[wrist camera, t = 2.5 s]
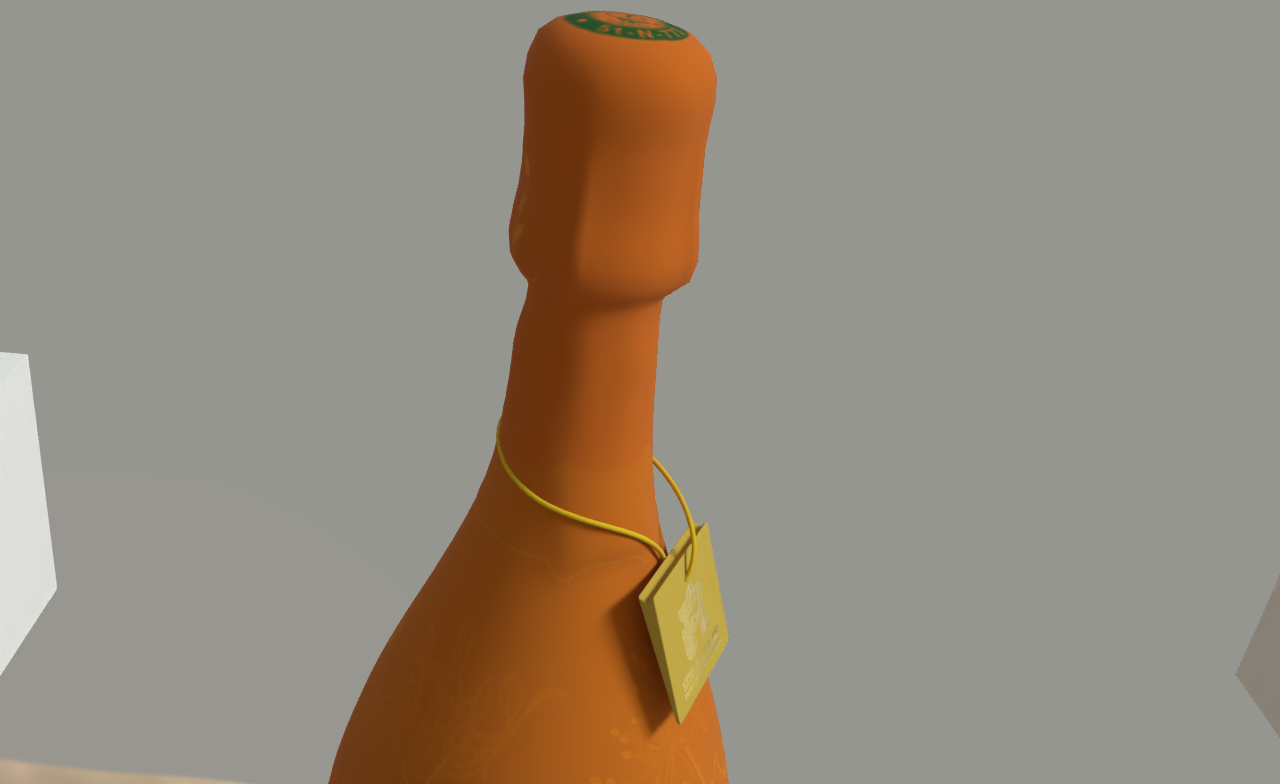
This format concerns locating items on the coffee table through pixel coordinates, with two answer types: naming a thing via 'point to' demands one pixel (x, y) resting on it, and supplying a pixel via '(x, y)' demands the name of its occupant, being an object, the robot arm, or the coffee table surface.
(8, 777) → the coffee table surface
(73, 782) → the coffee table surface
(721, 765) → the wine bottle
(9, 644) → the robot arm
